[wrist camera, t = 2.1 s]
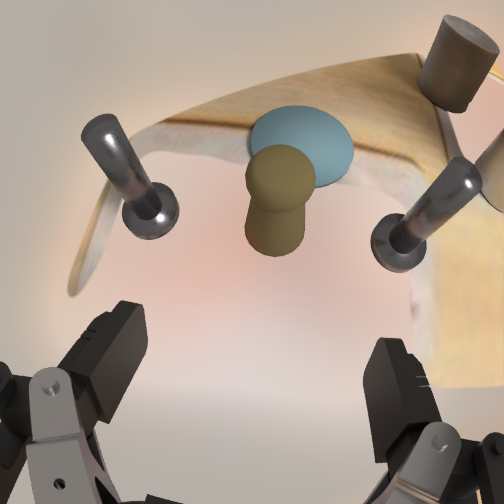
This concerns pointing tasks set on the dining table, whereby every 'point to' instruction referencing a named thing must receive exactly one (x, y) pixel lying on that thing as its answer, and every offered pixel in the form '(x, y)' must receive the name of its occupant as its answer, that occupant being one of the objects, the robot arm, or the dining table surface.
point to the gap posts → (167, 208)
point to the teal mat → (307, 139)
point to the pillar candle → (457, 64)
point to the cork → (278, 198)
